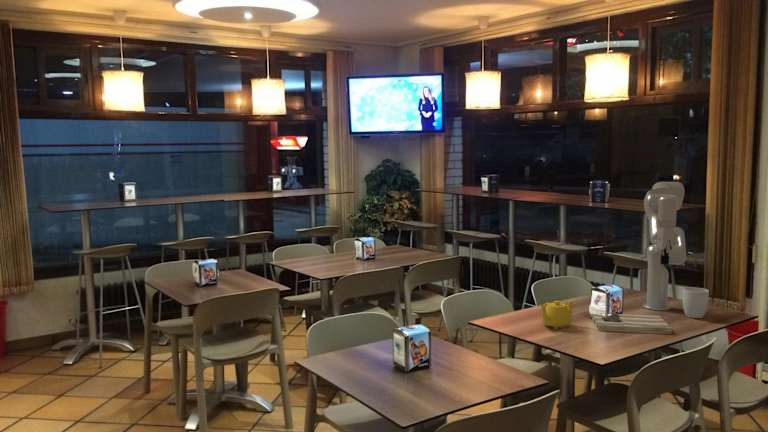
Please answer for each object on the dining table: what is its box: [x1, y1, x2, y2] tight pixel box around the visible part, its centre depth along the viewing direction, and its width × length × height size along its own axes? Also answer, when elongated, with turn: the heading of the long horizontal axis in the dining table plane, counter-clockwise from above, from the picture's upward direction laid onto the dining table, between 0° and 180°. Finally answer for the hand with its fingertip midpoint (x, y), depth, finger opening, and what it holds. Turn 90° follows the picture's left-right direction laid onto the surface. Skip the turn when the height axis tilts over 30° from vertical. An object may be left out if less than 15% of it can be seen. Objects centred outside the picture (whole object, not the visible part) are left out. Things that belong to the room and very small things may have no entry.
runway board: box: [590, 312, 673, 335], centre depth 292 cm, size 20×30×2 cm, turn 81°
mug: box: [682, 286, 710, 319], centre depth 307 cm, size 15×11×13 cm
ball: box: [606, 311, 620, 322], centre depth 292 cm, size 6×6×6 cm
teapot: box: [540, 298, 574, 330], centre depth 291 cm, size 20×15×12 cm
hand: (664, 264), depth 295 cm, fingers closed
